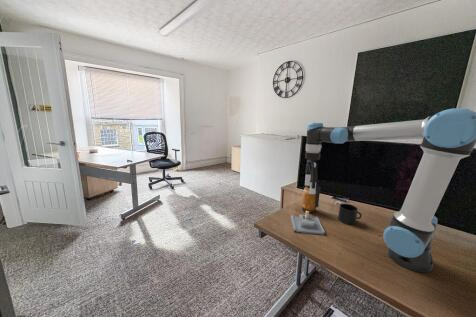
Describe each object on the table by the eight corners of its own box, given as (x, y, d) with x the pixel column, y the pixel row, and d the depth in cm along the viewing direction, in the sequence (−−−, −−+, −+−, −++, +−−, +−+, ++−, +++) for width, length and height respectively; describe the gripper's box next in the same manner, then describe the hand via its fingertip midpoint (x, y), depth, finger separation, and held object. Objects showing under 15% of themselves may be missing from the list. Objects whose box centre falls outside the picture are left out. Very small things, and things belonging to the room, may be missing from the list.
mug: (361, 227, 111) (364, 212, 109) (338, 222, 115) (340, 208, 114) (359, 219, 119) (361, 206, 117) (337, 215, 124) (339, 202, 122)
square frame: (313, 227, 108) (314, 221, 107) (300, 226, 109) (301, 220, 108) (311, 221, 114) (311, 215, 114) (299, 220, 115) (299, 214, 115)
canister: (305, 206, 137) (308, 179, 133) (321, 211, 129) (323, 183, 125) (299, 209, 131) (301, 182, 127) (314, 215, 123) (317, 186, 119)
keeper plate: (324, 234, 103) (326, 220, 101) (293, 231, 105) (294, 217, 103) (317, 219, 118) (318, 206, 116) (290, 217, 121) (291, 204, 119)
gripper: (327, 156, 90) (322, 198, 94) (314, 148, 114) (311, 182, 119) (310, 155, 91) (306, 197, 96) (301, 148, 116) (299, 181, 120)
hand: (309, 189), depth 107 cm, fingers open, 13 cm apart
